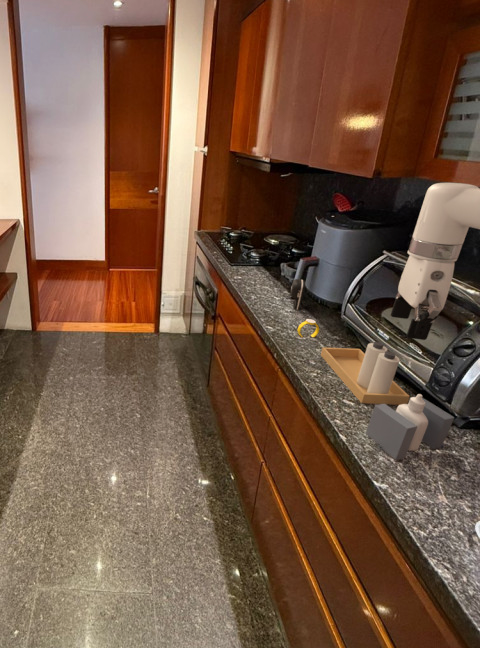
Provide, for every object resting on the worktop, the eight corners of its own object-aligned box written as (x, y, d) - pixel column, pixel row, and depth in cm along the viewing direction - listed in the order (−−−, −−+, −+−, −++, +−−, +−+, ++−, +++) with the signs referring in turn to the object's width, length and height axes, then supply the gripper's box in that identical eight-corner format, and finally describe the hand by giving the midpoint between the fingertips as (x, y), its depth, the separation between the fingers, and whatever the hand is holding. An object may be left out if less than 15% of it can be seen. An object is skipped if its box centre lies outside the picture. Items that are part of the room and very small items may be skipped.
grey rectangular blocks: (408, 425, 86) (419, 395, 83) (441, 448, 80) (454, 417, 76) (364, 435, 83) (374, 405, 80) (395, 460, 77) (407, 428, 74)
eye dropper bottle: (393, 447, 80) (410, 400, 75) (386, 429, 84) (402, 384, 80) (419, 454, 78) (438, 406, 74) (410, 435, 83) (428, 389, 78)
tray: (320, 356, 112) (322, 347, 110) (356, 358, 111) (359, 348, 110) (360, 405, 92) (364, 394, 91) (405, 407, 91) (409, 396, 90)
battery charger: (287, 305, 144) (292, 276, 140) (298, 307, 142) (304, 278, 138) (287, 313, 138) (293, 283, 134) (298, 315, 137) (305, 285, 132)
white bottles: (353, 379, 100) (365, 339, 96) (369, 380, 100) (382, 339, 96) (372, 400, 93) (386, 357, 88) (390, 401, 92) (405, 358, 88)
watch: (298, 339, 121) (302, 322, 118) (294, 335, 123) (298, 318, 121) (318, 340, 120) (322, 323, 118) (314, 335, 123) (318, 318, 121)
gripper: (481, 264, 66) (447, 351, 73) (438, 239, 81) (412, 312, 88) (428, 260, 68) (400, 344, 75) (395, 236, 83) (374, 308, 90)
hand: (407, 327), depth 81 cm, fingers open, 9 cm apart
